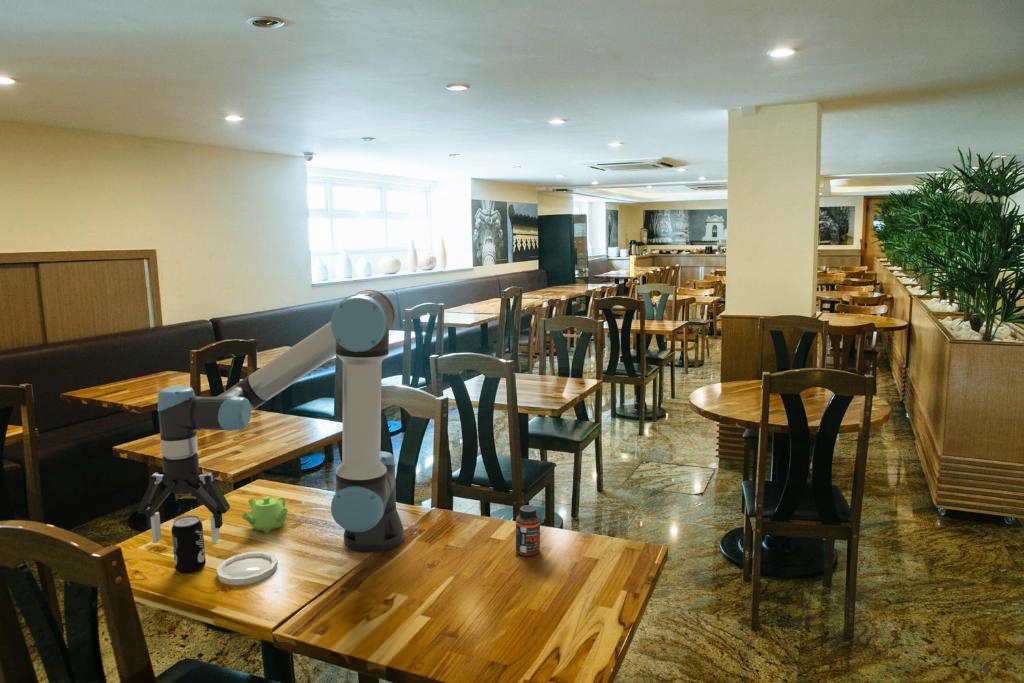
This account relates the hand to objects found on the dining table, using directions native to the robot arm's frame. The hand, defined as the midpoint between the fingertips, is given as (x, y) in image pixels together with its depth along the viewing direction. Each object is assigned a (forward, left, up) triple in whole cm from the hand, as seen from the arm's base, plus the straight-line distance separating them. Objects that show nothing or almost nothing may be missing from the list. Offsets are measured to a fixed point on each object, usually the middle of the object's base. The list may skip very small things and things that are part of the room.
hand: (186, 540), depth 163 cm
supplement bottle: (-80, -5, -7) cm, 81 cm away
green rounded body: (-11, -21, -7) cm, 25 cm away
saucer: (-14, +2, -7) cm, 16 cm away
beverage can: (0, 0, -7) cm, 7 cm away
